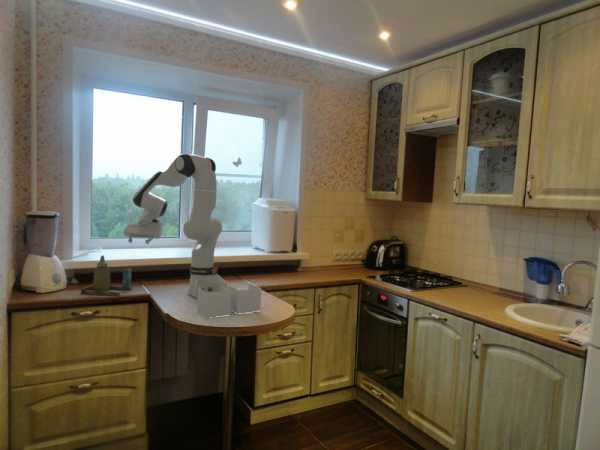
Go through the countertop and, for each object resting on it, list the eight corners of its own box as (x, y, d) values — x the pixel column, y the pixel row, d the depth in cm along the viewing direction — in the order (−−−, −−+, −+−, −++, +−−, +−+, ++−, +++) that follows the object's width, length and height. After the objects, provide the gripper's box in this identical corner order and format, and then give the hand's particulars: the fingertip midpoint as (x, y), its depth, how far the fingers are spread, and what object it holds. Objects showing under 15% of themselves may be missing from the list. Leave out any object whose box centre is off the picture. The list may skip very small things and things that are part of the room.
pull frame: (132, 288, 207) (133, 268, 206) (118, 295, 192) (118, 274, 191) (98, 286, 208) (98, 266, 207) (80, 293, 193) (81, 272, 192)
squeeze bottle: (114, 290, 201) (115, 255, 200) (100, 294, 194) (101, 257, 193) (103, 288, 205) (103, 254, 204) (89, 291, 197) (89, 255, 196)
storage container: (205, 319, 163) (206, 293, 162) (197, 312, 172) (197, 287, 171) (260, 313, 176) (261, 288, 175) (250, 306, 185) (251, 283, 184)
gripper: (126, 218, 224) (117, 237, 215) (162, 221, 223) (155, 240, 214) (130, 226, 229) (121, 244, 219) (165, 228, 228) (158, 247, 219)
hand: (138, 242), depth 217 cm, fingers open, 8 cm apart
